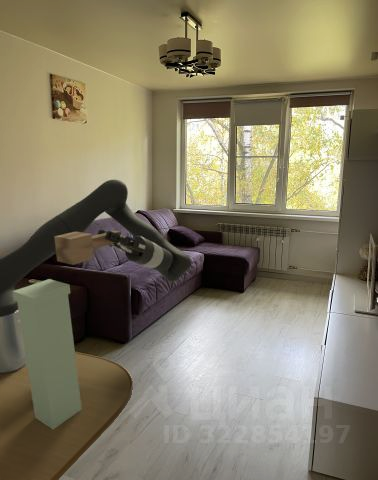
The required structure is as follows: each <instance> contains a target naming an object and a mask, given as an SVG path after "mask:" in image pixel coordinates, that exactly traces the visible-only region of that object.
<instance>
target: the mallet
mask: <svg viewBox="0 0 378 480" xmlns="http://www.w3.org/2000/svg"><path fill="white" fill-rule="evenodd" d="M110 231H111V232H113V233H116V234H118V235H122V231H120V230H110ZM105 232H106V233H107V231H105ZM106 233H102V234H98V233H97V234H98V235H97V234H95V235H93V233H89V232H88V233H87V232H83V233H82V232H72V233H67V234H63V235H59V236H54V238H55V246H56V253H55V255H56V261H57V262H58V263H59V262H60V263H64V264H68V265H72V266H74V265H77V264H81V263H83V262H87V261H90V260H93V259H95V253H94V250H95V249H99V248H102V247H103V248H104V247H106V246H108V245H110V244H113V243H114V242H112V241H109V240H107V239H106V238H105V237H106Z"/></svg>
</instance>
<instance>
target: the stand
mask: <svg viewBox="0 0 378 480" xmlns="http://www.w3.org/2000/svg"><path fill="white" fill-rule="evenodd" d="M70 286H71V285H70V284H69V283H65V282H61V281H57V280H53V279H51V278H48V279H46V280H42V281H39V282H36V283H32V284H31V285H28V286H25V287H21V288H19V289H15V291H13V296H14V300H16V301H17V303H18V309H19V316H20V322H21V329H22V335H23V342H24V348H25V355H26V361H27V363H26V367H27V373H28V381H29V386H30V392H31V398H32V406H33V411H34V417H35V419H36V420H37V421H39V422H41V423H42V424H44V425H45V426H47V427H48V428H50V429H51V430H55V429H56V428H57V427H59V426H60V425H61V424H63V423H64V422H66V421H67V420H69V419H70V418H72V417H73V416H74V415H76V414H77V413H79V412H81V411H82V410H83V409H82V401H81V399H82V398H81V393H80V391H81V390H80V384H79V375H78V367H77V358H76V349H75V343H74V342H75V341H74V335H73V326H72V317H71V308H70V302H69V295H70V294H71V287H70Z"/></svg>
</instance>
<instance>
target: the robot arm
mask: <svg viewBox="0 0 378 480" xmlns="http://www.w3.org/2000/svg"><path fill="white" fill-rule="evenodd" d="M128 192H129V191H128V187H127V184H126V183H124V182H123V181H122V180H119V179H109V180H107V181H104V182H103V183H101V184H100V185H99V186H98V187H96V188H95V189H94V190H93V191H92V192H90V193H89V194H88V195H87V196H85V197H84V198H83V199H81V200H79V201H78V202H76V203H74V204H73V205H71V206H70V207H68V208H66V209H65V210H63V211H62V212H60V213H59V214H57V215H55V216H53V217H52V218H51V219H50V220H48V221H46V222H45V223H44V224H42V225H41V226H40V227H39V228H38V229H36V230H35V232H34V233H33V234H32V235H31V236H30V237H29V239H28V240H27V241H26V242H25V243H24V244H22V245H21V246H20V247H19V248H17V249H15V250H14V251H12V252H10V253H9V254H6V255H5V256H1V255H0V373H2V374H3V373H10V372H14V371H16V370H19V369H21V368H23V367H25V365H27V361H26V355H25V348H24V342H23V335H22V329H21V322H20V316H19V309H18V303H17V301H16V300H14V296H13V291H15V290H16V288H15V285H16V284H18V282H20V281H21V280H22V279H23V278H24V277H26V276H27V274H29V273H30V272H31V271H32V270H33V271H34V269H35V268H36V267H38V266H39V265H41V264H42V263H43V262H45V261H47V260H48V259H49V258H51V257H53V255H56V246H55V238H54V236H59V235H63V234H67V233H72V232H82V233H85V231H86V230H87V229H88V228H89V227H90V225H91V224H93V222H94V221H95V220H96V219H97V218H98V217H99V216H100V215H102V214H103V213H105V214H106V215H108V217H110V218H112V219H113V220H114V221H116V222H117V223H118V224H119V225H121V227H123V229H125V230H126V231H127V232H129V233H130V234H131V235H132V237H130V236H128V235H123V234H121V235H118V234H116V233H113V232H111V231H112V230H106V231H105V230H103V229H98V231H97V234H96V235H98V234H102V233H106V232H107V233H106V237H105V238H106V239H107V240H109V241H112V242H114V243H113V244H110V245H107V246H109V247H110V248H115V249H118V250H119V251H120V252H123V253H125V257H126V259H128V260H129V261H130V262H133V263H135V264H137V265H140V266H142V267H145V268H150V269H152V270H155V271H157V272H158V273H159V274H161V276H163V278H164V279H165V280H166V281H168V282H171V283H172V282H176V281H178V280H179V279H180V278H181V277H182V276H183V275H185V273H186V272H187V271H189V269H191V267H192V266H193V265H192V264H193V262H192V259H191V257H190V256H189V255H188V254H187V253H185V252H184V251H183V250H182V249H179V248H177V247H176V246H174V245H173V244H171V243H170V242H169V241H168V240H167V239H166V238H165V237H164V235H162V233H160V232H159V230H158V229H156V228H155V226H153V225H152V224H151V223H148V222H147V221H145V220H143V219H141V218H140V217H139V216H138V215H136V214H135V213H134V212H133V211H132V210H131V208H130V207H129V205H128V204H127V199H128V195H129V194H128Z"/></svg>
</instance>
